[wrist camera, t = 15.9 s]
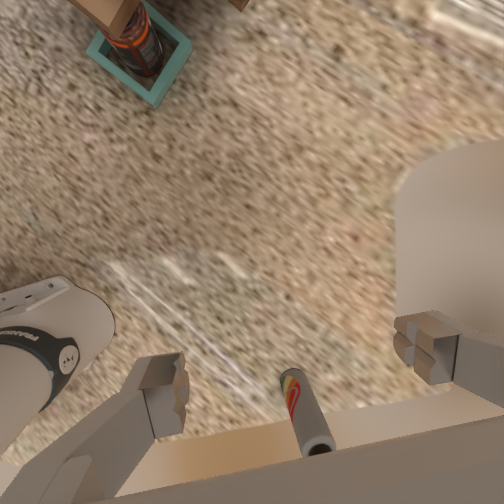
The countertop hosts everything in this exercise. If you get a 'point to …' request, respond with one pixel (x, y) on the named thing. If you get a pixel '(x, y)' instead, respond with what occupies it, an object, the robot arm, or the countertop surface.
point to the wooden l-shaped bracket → (119, 12)
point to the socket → (171, 70)
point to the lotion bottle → (306, 415)
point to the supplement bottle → (138, 44)
